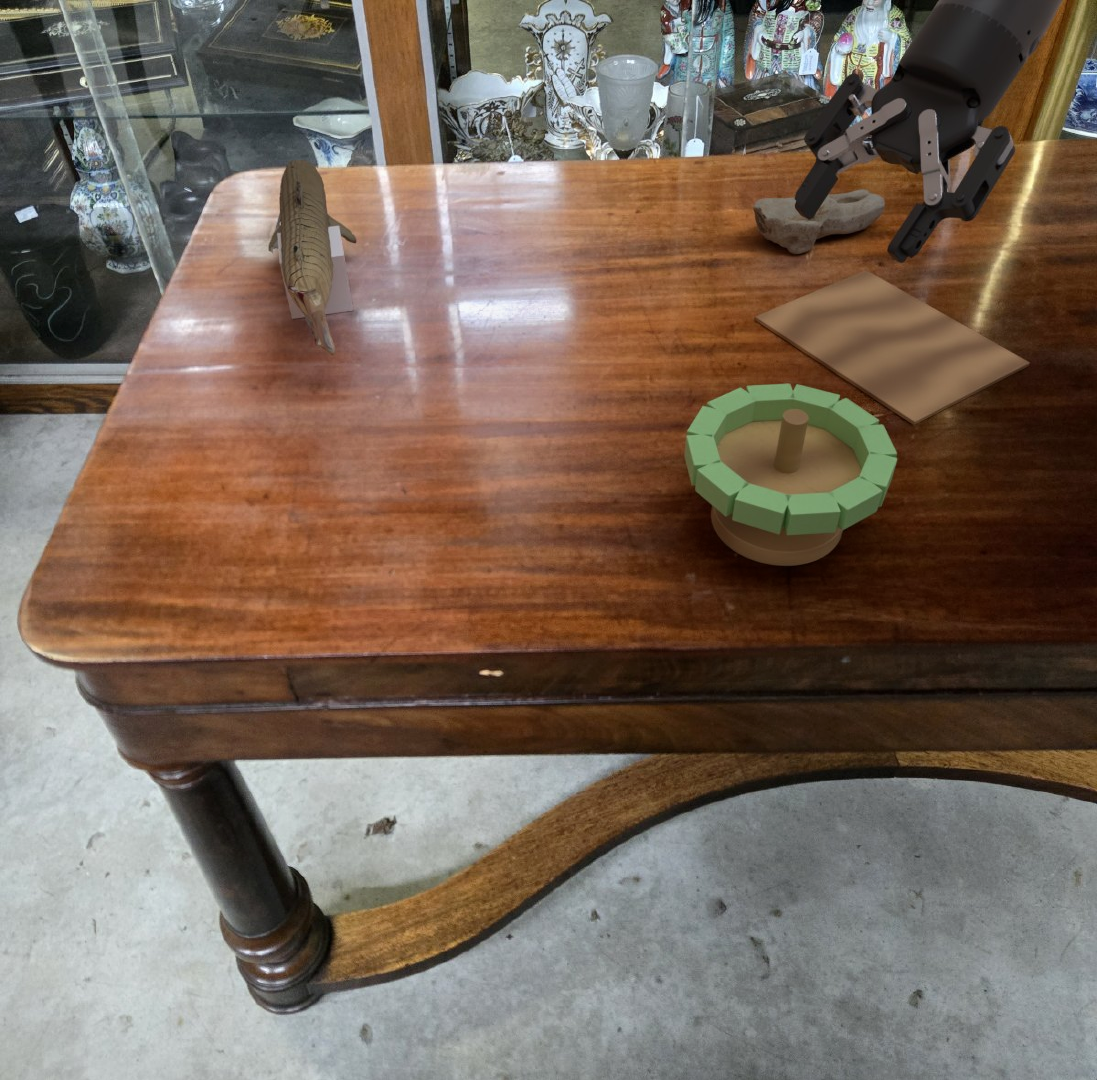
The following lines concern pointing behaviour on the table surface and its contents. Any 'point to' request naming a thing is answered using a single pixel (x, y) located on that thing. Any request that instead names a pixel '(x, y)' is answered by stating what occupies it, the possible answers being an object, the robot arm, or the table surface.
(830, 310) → the mat
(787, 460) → the stand
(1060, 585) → the table surface
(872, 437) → the ring
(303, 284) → the wood carving
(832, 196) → the sculpture
